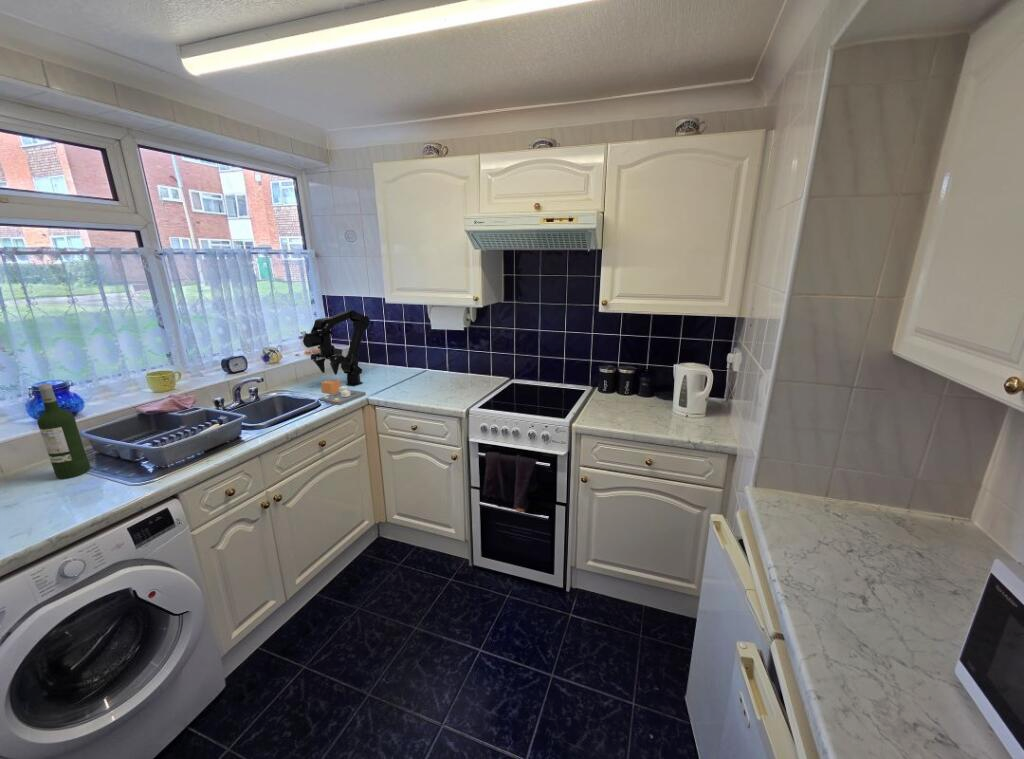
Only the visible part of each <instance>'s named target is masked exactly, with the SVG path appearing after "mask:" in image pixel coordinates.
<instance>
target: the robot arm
mask: <svg viewBox="0 0 1024 759" xmlns="http://www.w3.org/2000/svg"><path fill="white" fill-rule="evenodd" d="M348 320H349V321H351V322H352V327H353V333H352V337H351V339H350V344H349V349H348V351H347V355H345V356H344V355H343V349H342V348H335V345H333V343H332V339H331V335H334V333H335V332H333V331H332V329H334V327H335V326H336V325H338V324H341V323H343V322H345V321H348ZM370 321H371V320H370V318H369V317H368V316H367V315H364V314H362V313H359V312H357V311H356V310H354V309H347V310H345V311H342V312H340V313H337V314H334V315H333V316H330V317H324V318H323V317H321V318H317V319H315V320H314V324H313V326H312V328H311V330H310V332H309V333H305V334H304V337H303V338H302V343H303V345H304V347H305V348H307V349H308V348H309V349H310V348H313V347H317V349H319V351H320V352H319V351H318V352H314V353H311V354H310V360H312V361H313V363H314V364H315V365H316V366H317V367H318V368H319V370H320V372H322V373H323V374H324V373H325V372H326V371H325V361H326V360H329V361H330V362H329V365H330V367H331V369H332V372H333V374H334V375H338V371H339V367H340V368H341V370H342V371H343V373H344V374H345V375H346V381H347V382H346V383H345V385H346V386H352V387H355V386H358V385H361V384H362V385H363V381H361V374H363V369H362V367H360V366H359V360H358V354H359V351H360V346H361V343H362V339H363V336H364V332H365V331H366V330H367V329H368V328H369V326H370V323H371V322H370Z"/></svg>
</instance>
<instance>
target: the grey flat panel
mask: <svg viewBox="0 0 1024 759" xmlns="http://www.w3.org/2000/svg"><path fill="white" fill-rule="evenodd" d="M348 391H350V395H351V396H348V397H341V392H339V391H338V392H336V393H333V394H327V395H324V396H322V397H319V398H317V401H318V400H320V401H324V402H326V403H325V404H329V403H330V404H331V405H335V406H336V405H338V406H343V405H344V403H345V404H347V403H349V402H351V401H354V400H357V399H359V398H362V397H365V396H366V395H367V394H366V392H365V391H360V390H355V389H348Z"/></svg>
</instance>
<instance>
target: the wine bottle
mask: <svg viewBox="0 0 1024 759" xmlns="http://www.w3.org/2000/svg"><path fill="white" fill-rule="evenodd" d="M38 390H39V392H40V396H41V399H42V403H43V406H44V407H43V408H44V412H43V413H42V414H41V415H40V417H39V418H38V420H37V421H36V422H37V426H38V430H39V432H40V434H41V438H42V440H43V443H44V445H45V446H44V447H45V449H46V453H47V455H48V457H49V461H50V463H51V466H52V469H53V473H54V475H55V477H56V478H57V479H60V480H66V479H73V478H75V477H79V476H82V475H85V474H86V472H87V471H88V470H89V469H90V467H91V465H90V461H89V458H88V455H87V450H86V449H85V446H84V443H83V440H82V437H81V433H80V431H79V427H78V424H77V421H76V419H75V418H76V417H75V416H74V414H73V412H71V411H69V410H65V409H62V408H61V407H60V405H59V403H58V399H57V397H56V395H55V392H54V389H53V385H51V383H44V384H40V385H38ZM90 470H91V469H90ZM90 470H89V471H90ZM89 471H88V472H89ZM88 472H87V473H88ZM84 473H85V474H84Z"/></svg>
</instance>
